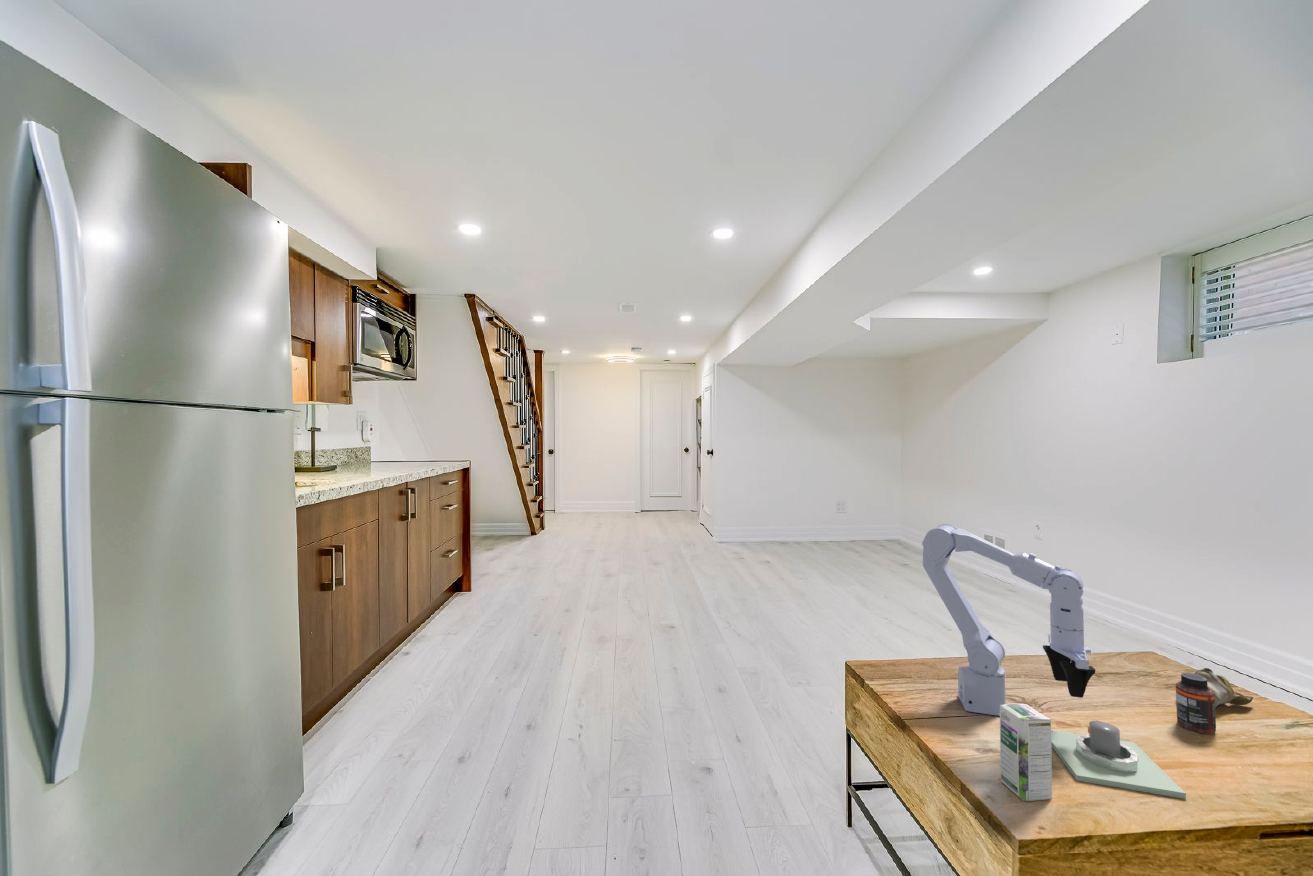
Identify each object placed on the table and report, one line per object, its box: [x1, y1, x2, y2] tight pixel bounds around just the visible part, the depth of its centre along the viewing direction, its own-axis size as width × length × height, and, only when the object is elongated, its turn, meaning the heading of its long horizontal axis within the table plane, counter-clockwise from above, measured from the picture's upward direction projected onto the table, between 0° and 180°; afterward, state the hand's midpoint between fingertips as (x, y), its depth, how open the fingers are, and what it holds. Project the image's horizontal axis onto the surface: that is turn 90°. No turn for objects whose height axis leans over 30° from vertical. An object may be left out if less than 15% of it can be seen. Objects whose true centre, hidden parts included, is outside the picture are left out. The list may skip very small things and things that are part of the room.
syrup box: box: [999, 702, 1053, 802], centre depth 92 cm, size 6×6×14 cm
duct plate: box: [1051, 729, 1187, 800], centre depth 99 cm, size 16×16×1 cm
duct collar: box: [1076, 733, 1139, 773], centre depth 99 cm, size 9×9×2 cm
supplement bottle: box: [1175, 672, 1217, 735], centre depth 111 cm, size 6×6×11 cm
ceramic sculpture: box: [1180, 667, 1254, 708], centre depth 121 cm, size 11×9×15 cm
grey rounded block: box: [1087, 720, 1121, 759], centre depth 99 cm, size 4×5×6 cm
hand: (1068, 688), depth 110 cm, fingers open, 7 cm apart
